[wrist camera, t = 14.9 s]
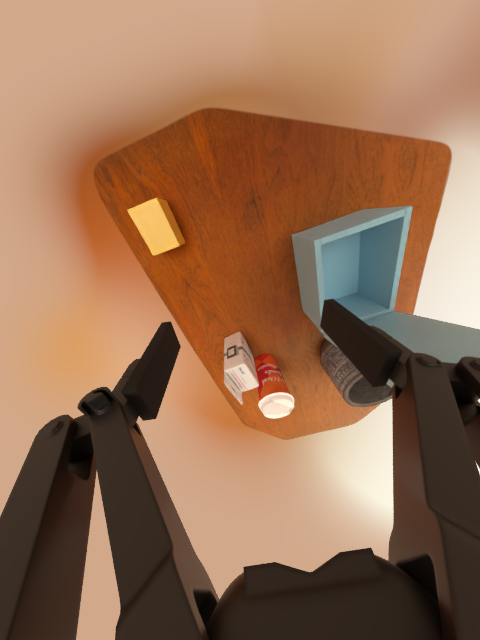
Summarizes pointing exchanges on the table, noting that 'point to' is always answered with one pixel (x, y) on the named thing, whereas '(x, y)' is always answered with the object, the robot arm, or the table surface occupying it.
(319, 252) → the cool box
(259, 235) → the table surface
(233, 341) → the ink box
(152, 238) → the block
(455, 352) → the cool box lid
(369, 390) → the planter
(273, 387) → the coffee cup
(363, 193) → the table surface
